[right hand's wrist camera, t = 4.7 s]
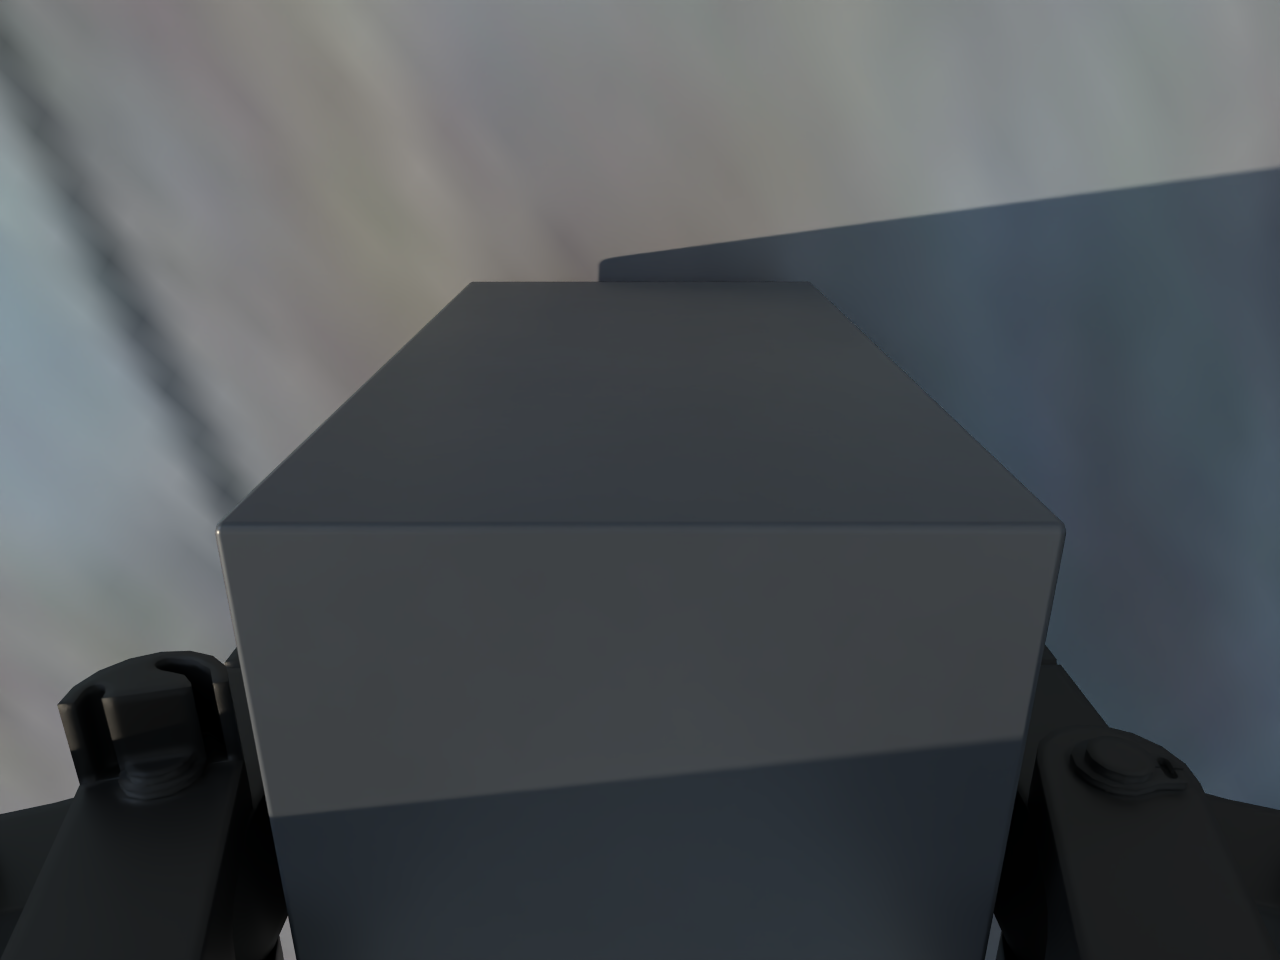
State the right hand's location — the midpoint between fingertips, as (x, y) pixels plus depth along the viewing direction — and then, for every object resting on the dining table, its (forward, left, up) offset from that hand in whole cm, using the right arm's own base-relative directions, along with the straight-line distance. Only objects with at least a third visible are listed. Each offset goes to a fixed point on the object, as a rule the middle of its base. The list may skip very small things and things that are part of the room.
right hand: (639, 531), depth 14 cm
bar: (+6, +6, -1) cm, 9 cm away
